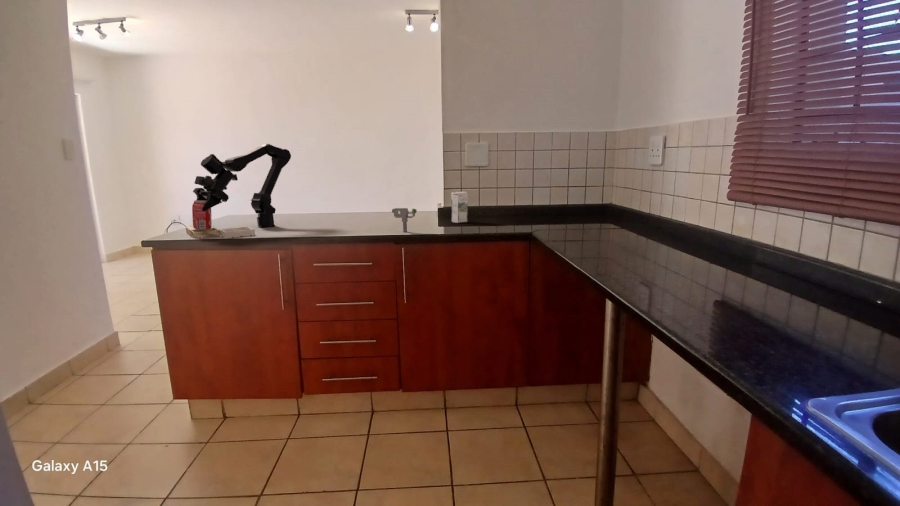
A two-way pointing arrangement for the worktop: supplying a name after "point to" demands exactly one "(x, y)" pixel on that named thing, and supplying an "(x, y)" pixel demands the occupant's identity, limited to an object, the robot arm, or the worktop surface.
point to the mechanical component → (403, 215)
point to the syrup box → (459, 207)
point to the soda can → (201, 216)
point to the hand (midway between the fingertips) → (198, 210)
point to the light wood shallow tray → (202, 232)
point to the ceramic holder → (237, 232)
